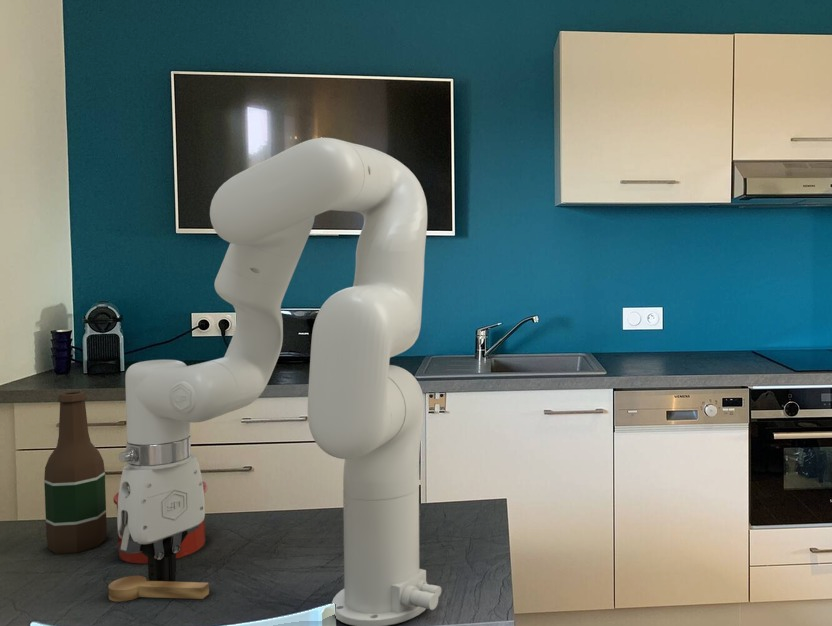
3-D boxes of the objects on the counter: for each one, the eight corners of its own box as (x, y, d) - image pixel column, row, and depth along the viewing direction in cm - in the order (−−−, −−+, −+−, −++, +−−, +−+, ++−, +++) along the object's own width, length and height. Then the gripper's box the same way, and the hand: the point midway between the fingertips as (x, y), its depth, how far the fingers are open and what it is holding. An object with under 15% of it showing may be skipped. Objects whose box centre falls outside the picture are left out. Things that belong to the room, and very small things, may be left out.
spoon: (215, 589, 106) (214, 577, 106) (196, 604, 102) (196, 592, 102) (123, 586, 107) (122, 575, 107) (101, 601, 102) (100, 589, 102)
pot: (221, 541, 123) (220, 488, 122) (152, 569, 112) (151, 511, 112) (172, 529, 128) (171, 478, 127) (101, 555, 117) (99, 499, 117)
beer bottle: (77, 557, 116) (71, 398, 115) (33, 552, 118) (27, 396, 116) (118, 537, 124) (114, 389, 122) (77, 533, 125) (72, 386, 124)
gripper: (123, 469, 97) (126, 612, 98) (226, 442, 110) (228, 567, 112) (86, 461, 100) (90, 599, 101) (190, 436, 114) (193, 558, 115)
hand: (162, 582), depth 106 cm, fingers closed
